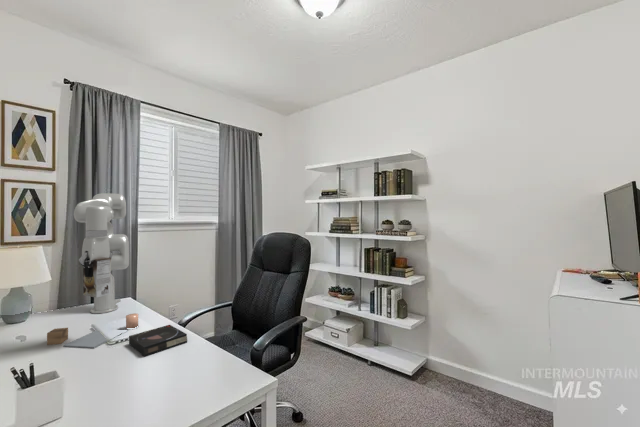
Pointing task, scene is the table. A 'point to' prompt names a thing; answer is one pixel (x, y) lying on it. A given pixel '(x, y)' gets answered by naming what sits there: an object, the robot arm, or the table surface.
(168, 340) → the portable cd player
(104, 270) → the coffee box
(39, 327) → the table surface
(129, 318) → the terracotta cylinder
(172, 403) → the table surface
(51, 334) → the walnut block
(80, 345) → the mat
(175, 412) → the table surface
